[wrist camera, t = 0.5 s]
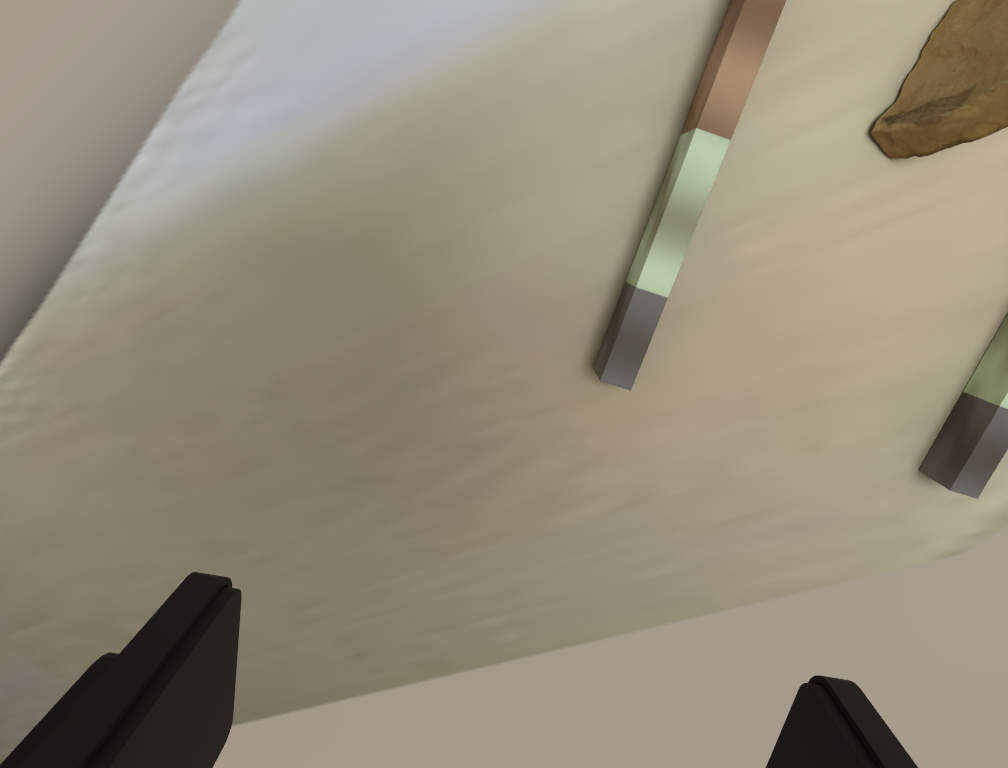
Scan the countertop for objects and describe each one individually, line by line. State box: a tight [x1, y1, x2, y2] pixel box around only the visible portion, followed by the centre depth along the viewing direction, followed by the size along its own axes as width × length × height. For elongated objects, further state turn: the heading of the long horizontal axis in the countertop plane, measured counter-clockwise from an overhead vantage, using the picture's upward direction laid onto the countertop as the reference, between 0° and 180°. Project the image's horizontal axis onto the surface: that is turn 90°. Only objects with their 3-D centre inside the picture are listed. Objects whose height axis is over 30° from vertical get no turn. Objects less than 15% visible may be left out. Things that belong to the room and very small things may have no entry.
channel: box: [593, 0, 1008, 499], centre depth 34 cm, size 28×26×3 cm
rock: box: [871, 0, 1008, 159], centre depth 30 cm, size 11×9×10 cm
